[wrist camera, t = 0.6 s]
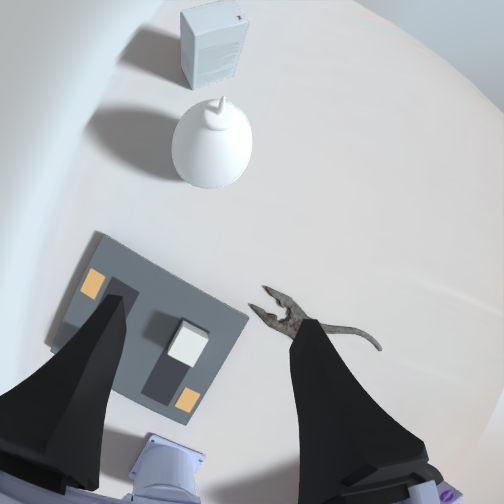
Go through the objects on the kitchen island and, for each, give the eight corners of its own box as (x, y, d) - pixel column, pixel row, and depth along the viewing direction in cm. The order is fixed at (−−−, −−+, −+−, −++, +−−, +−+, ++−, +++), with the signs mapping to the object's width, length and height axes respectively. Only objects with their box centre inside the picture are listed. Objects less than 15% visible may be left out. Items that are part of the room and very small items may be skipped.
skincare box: (221, 53, 37) (234, -4, 26) (234, 77, 38) (252, 22, 26) (179, 67, 36) (179, 10, 25) (191, 92, 37) (194, 37, 25)
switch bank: (185, 420, 37) (186, 426, 35) (54, 347, 34) (49, 351, 32) (247, 315, 38) (249, 318, 37) (107, 235, 35) (103, 234, 33)
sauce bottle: (177, 132, 36) (172, 47, 19) (241, 136, 38) (282, 58, 20) (171, 195, 36) (157, 147, 19) (238, 199, 38) (280, 156, 20)
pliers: (355, 402, 41) (227, 356, 37) (352, 400, 42) (226, 353, 38) (387, 342, 42) (264, 283, 38) (383, 340, 42) (262, 282, 39)
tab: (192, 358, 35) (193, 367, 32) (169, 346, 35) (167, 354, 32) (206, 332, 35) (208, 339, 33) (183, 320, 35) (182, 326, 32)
